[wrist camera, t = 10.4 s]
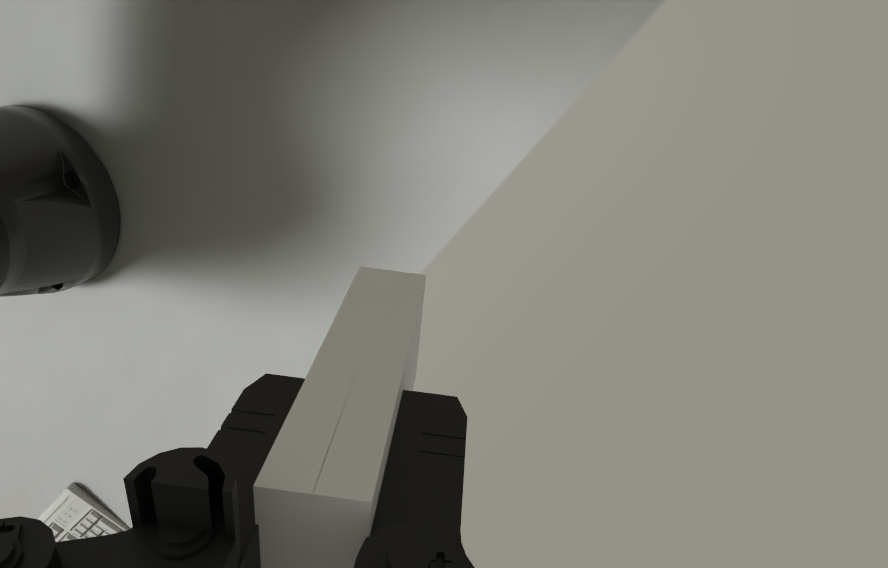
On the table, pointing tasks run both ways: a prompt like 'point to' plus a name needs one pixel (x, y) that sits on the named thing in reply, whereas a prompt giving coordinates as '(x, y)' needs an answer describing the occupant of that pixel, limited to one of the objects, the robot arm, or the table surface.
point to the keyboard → (79, 516)
